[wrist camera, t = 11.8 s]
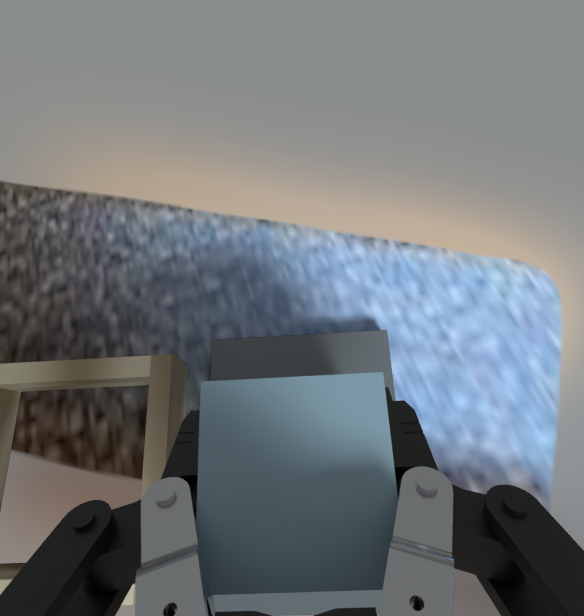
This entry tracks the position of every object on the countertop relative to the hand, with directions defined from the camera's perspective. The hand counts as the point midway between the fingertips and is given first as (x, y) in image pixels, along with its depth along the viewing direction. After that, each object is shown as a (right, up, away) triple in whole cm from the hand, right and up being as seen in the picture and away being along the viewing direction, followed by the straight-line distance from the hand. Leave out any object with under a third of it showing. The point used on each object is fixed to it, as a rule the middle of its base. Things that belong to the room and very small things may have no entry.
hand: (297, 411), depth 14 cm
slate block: (0, -3, +3) cm, 5 cm away
